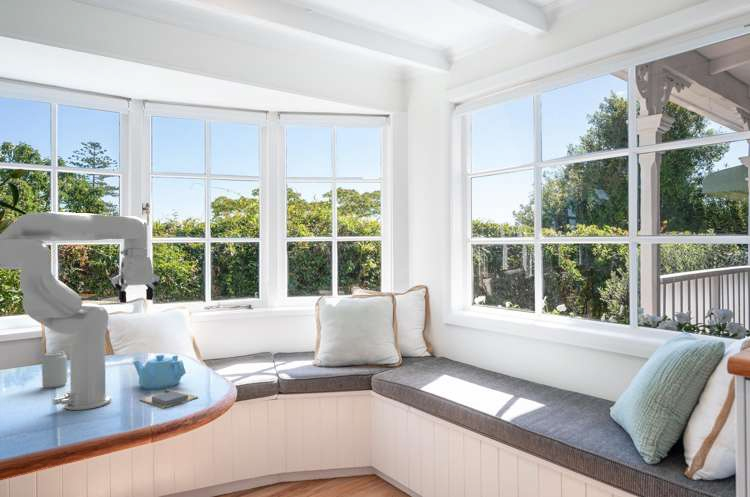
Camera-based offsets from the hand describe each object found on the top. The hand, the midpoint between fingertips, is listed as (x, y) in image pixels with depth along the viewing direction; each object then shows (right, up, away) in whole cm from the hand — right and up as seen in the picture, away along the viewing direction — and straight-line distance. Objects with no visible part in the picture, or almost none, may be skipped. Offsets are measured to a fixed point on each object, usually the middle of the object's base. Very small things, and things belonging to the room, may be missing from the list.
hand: (136, 301), depth 173 cm
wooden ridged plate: (+19, -30, -17) cm, 39 cm away
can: (-30, -31, +1) cm, 43 cm away
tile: (+22, -29, -17) cm, 40 cm away
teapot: (+8, -31, 0) cm, 32 cm away
